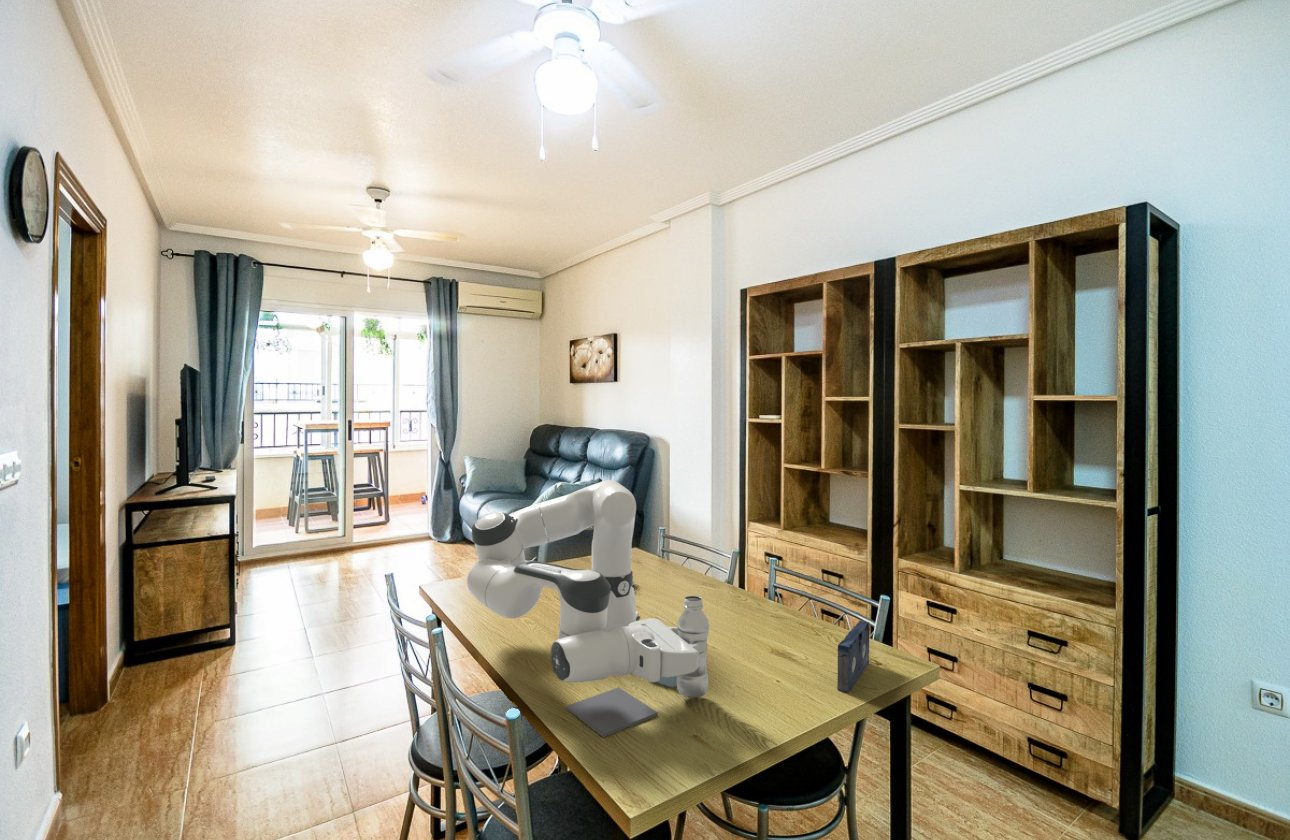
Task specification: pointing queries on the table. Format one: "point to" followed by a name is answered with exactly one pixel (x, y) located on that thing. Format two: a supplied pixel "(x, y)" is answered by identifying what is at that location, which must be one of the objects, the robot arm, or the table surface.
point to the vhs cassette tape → (853, 656)
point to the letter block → (668, 681)
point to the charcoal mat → (611, 711)
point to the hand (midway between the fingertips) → (696, 638)
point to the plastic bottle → (691, 630)
